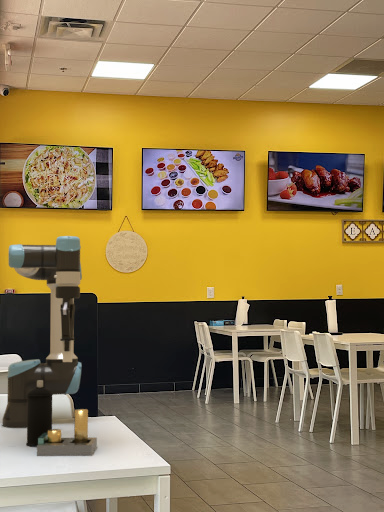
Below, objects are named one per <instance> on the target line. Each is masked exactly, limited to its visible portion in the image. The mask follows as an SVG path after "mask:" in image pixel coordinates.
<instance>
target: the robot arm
mask: <svg viewBox="0 0 384 512" xmlns="http://www.w3.org/2000/svg"><path fill="white" fill-rule="evenodd" d="M55 242H56V243H55V244H21V243H20V244H19V243H18V244H11V245H9V247H8V266H9V268H11V269H12V268H13V269H14V271H15V272H16V273H17V274H19V276H22V277H24V278H26V279H30V280H35V281H46V286H47V287H48V288H49V290H50V332H49V333H50V342H49V343H50V348H49V349H50V352H49V354H48V356H47V357H46V358H45V363H43V362H42V363H41V359H39V358H38V359H37V358H36V359H27V360H21V361H16V362H13V363H11V364H9V366H8V368H7V376H6V377H7V405H6V407H5V411H4V413H3V417H2V424H3V425H4V426H3V425H2V426H3V427H5V426H7V427H6V428H13V429H14V428H27V397H28V396H27V394H28V393H29V392H30V391H31V390H32V389H34V388H36V387H37V381H38V380H43V387H44V388H47V389H49V390H50V391H51V393H53V395H52V396H54V395H55V396H56V395H73V394H76V393H77V392H78V391H79V389H80V384H81V376H82V367H83V366H82V362H80V361H78V356H77V355H76V354H75V353H74V346H75V345H74V344H75V342H74V341H75V339H76V338H75V337H74V330H75V329H74V328H75V327H74V326H75V311H76V305H75V302H74V301H75V299H80V297H81V287H80V286H79V285H80V284H81V281H82V279H83V276H82V275H83V274H82V264H81V240H80V237H79V236H73V235H72V236H71V235H64V236H63V235H62V236H58V237H57V238H56V239H55Z"/></svg>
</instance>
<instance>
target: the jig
mask: <svg viewBox="0 0 384 512" xmlns="http://www.w3.org/2000/svg"><path fill="white" fill-rule="evenodd" d="M97 439H98V438H97V437H88V443H74V437H62V429H59V428H54V429H53V428H52V429H51V430H48V433H43V434H42V435H41V436H40V437H39V438H38V445H37V447H36V456H37V457H45V456H46V457H57V456H58V457H61V456H63V457H66V456H72V457H73V456H76V457H77V456H82V457H83V456H93V454H94V453H95V451H96V449H97V443H98V441H97Z"/></svg>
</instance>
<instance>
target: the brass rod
mask: <svg viewBox="0 0 384 512" xmlns="http://www.w3.org/2000/svg"><path fill="white" fill-rule="evenodd" d="M88 413H89V410H88V409H87V408H85V409H84V408H80V409H79V408H77V409H74V413H73V414H74V423H73V424H74V427H73V429H74V430H73V431H74V432H73V434H74V436H73V438H74V443H88V438H89V431H88V430H89V428H88V427H89V425H88V424H89V414H88Z"/></svg>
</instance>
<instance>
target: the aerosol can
mask: <svg viewBox="0 0 384 512" xmlns="http://www.w3.org/2000/svg"><path fill="white" fill-rule="evenodd" d="M27 396H28V397H27V427H26V443H25V445H26V446H27V447H32V448H37V445H38V438H39V437H40V436H41V435H42V434H43V433H48V430H51V429H53V396H54V395H53V393H51V391H50V390H49V389H47V388H44V387H43V380H38V381H37V387H36V388H34V389H32V390H31V391H30V392H29V393H28V394H27Z"/></svg>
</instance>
